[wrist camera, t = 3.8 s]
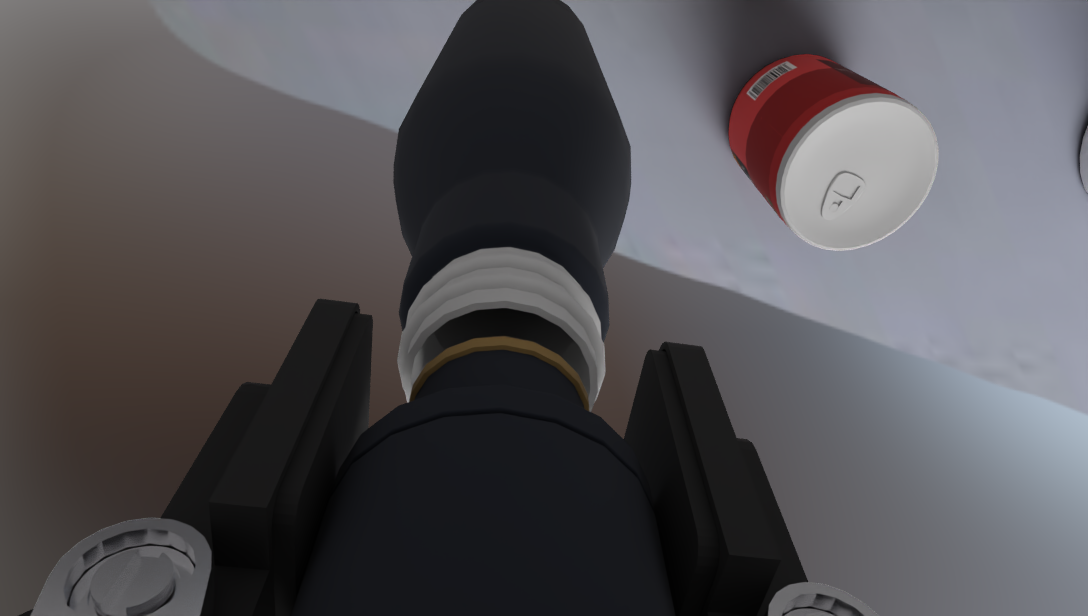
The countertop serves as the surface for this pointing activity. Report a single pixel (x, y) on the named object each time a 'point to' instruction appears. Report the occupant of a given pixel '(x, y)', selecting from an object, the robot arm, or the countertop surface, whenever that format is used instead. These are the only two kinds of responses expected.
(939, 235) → the countertop surface
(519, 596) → the black water bottle
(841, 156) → the canned food
